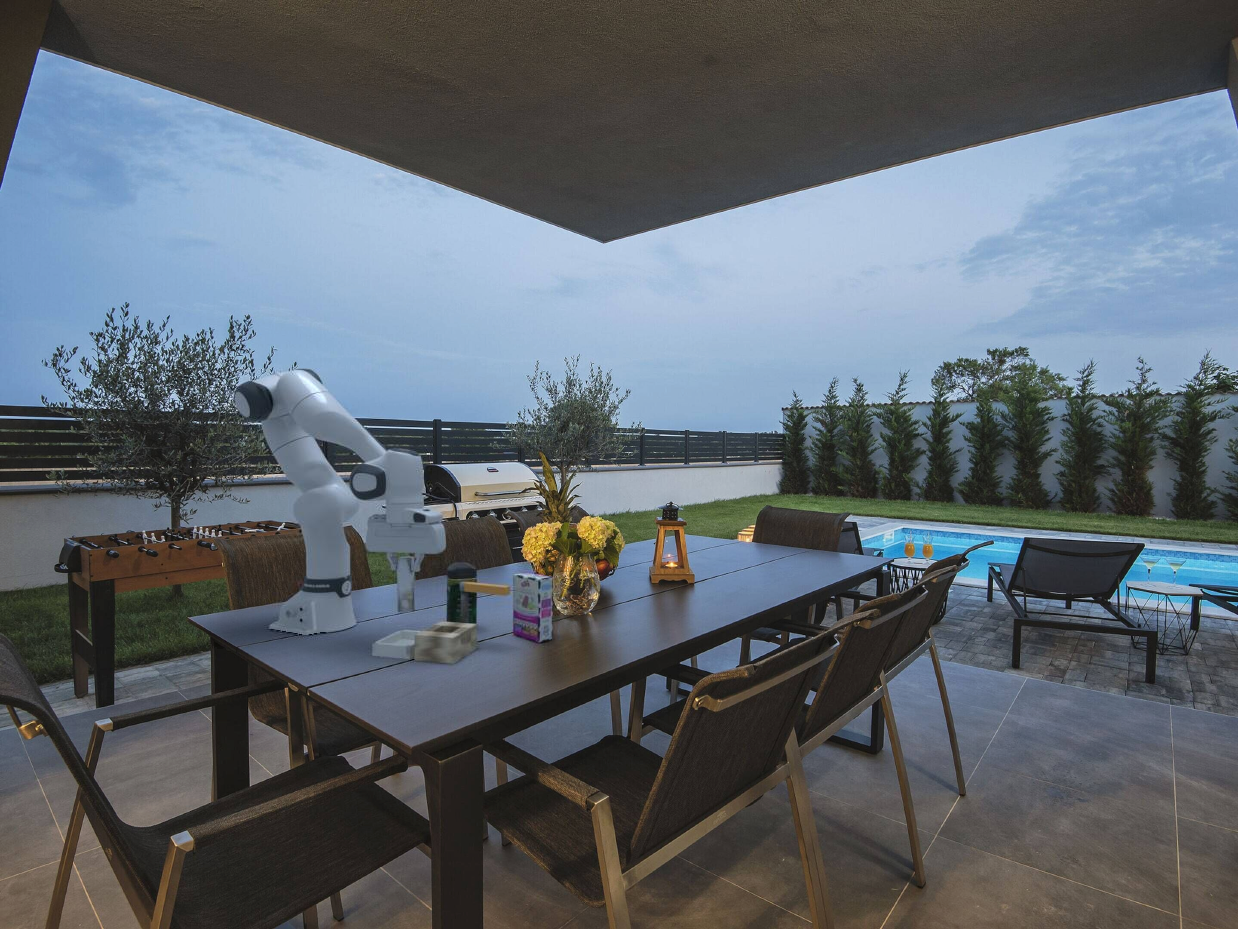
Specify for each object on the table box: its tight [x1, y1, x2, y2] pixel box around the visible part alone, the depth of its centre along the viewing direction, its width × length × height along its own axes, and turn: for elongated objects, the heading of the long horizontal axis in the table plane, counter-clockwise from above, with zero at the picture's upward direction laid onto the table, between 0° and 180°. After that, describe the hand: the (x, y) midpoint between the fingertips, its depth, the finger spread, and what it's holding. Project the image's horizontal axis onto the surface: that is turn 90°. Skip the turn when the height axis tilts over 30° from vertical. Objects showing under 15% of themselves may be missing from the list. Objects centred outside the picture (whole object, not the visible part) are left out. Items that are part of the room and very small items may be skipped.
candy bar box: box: [512, 572, 554, 644], centre depth 161 cm, size 11×5×16 cm, turn 47°
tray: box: [371, 629, 422, 660], centre depth 150 cm, size 10×12×3 cm
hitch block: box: [414, 591, 478, 665], centre depth 149 cm, size 10×17×13 cm, turn 167°
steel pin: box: [396, 556, 416, 614], centre depth 150 cm, size 4×4×13 cm
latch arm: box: [460, 582, 511, 597], centre depth 153 cm, size 2×14×2 cm, turn 67°
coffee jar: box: [446, 561, 478, 625], centre depth 167 cm, size 10×8×19 cm
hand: (405, 570), depth 150 cm, fingers closed on steel pin, 4 cm apart
